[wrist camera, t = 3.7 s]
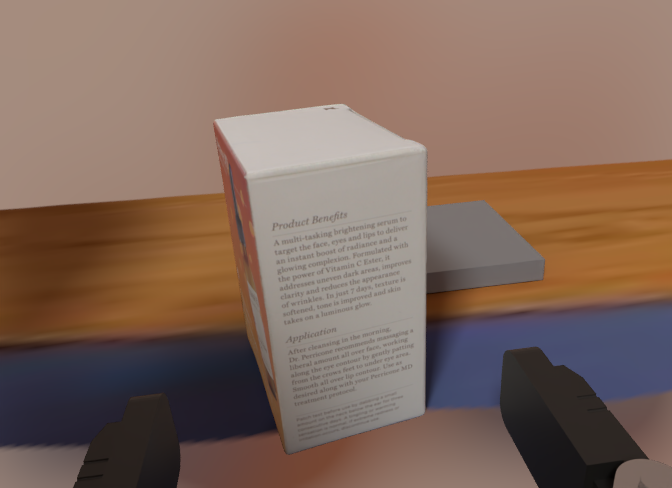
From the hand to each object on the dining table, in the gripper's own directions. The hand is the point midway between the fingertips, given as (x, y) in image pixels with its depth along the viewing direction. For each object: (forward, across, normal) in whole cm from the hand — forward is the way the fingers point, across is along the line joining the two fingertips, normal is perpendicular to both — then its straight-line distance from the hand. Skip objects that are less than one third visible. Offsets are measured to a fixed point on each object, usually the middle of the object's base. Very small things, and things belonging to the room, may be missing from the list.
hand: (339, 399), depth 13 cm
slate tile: (+19, -5, +6) cm, 20 cm away
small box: (+9, 0, +6) cm, 11 cm away
